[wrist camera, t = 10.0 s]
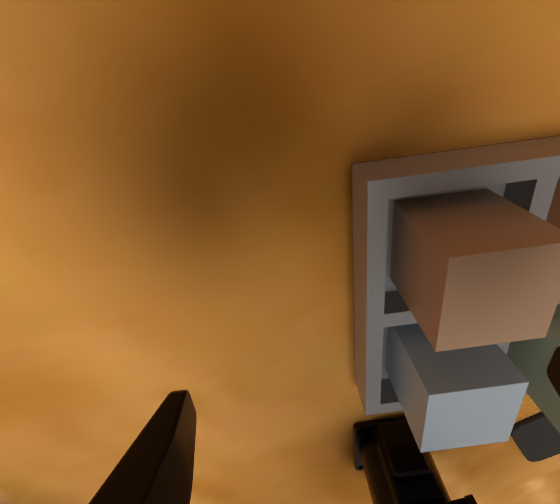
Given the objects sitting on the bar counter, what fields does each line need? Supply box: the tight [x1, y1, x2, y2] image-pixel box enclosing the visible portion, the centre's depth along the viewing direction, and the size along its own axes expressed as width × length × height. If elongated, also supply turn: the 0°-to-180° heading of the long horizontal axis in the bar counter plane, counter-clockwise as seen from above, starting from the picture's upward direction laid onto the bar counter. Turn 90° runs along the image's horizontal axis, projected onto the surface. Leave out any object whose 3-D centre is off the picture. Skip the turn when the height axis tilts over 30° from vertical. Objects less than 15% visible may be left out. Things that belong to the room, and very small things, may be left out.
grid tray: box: [352, 136, 560, 453], centre depth 19 cm, size 17×17×7 cm
